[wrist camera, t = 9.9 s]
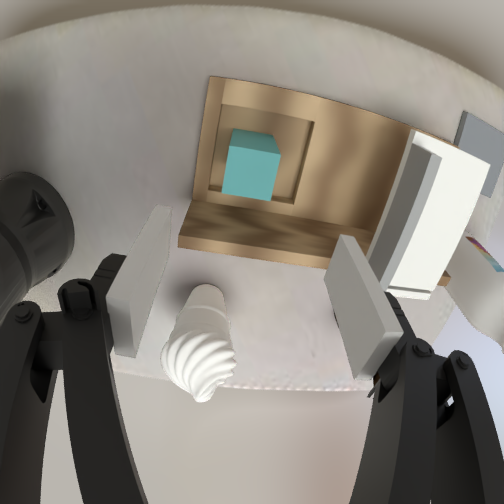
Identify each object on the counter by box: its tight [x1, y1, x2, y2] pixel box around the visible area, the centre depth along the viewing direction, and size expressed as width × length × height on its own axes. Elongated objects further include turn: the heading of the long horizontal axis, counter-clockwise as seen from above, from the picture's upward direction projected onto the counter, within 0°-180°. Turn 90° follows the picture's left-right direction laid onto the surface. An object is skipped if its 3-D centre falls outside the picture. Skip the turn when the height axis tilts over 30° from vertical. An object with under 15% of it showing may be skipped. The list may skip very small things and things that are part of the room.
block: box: [222, 128, 281, 201], centre depth 28 cm, size 4×4×8 cm
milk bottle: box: [444, 230, 504, 354], centre depth 30 cm, size 8×8×20 cm
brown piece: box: [178, 76, 460, 286], centre depth 28 cm, size 28×14×10 cm, turn 79°
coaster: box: [454, 111, 504, 198], centre depth 31 cm, size 9×9×1 cm
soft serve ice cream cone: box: [160, 284, 237, 402], centre depth 35 cm, size 8×8×16 cm
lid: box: [366, 129, 490, 300], centre depth 27 cm, size 9×15×11 cm, turn 169°
